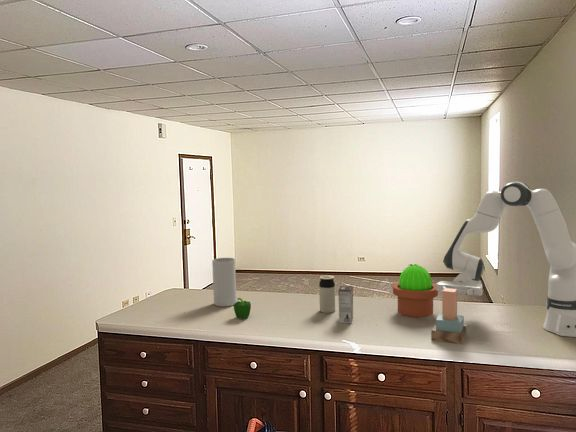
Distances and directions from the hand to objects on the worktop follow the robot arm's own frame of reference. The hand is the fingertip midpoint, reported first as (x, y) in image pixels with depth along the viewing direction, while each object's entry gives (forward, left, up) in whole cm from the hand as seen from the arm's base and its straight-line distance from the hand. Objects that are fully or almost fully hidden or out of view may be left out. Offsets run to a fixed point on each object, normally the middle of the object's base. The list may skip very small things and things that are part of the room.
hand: (455, 292), depth 211 cm
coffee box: (+49, +10, -17) cm, 53 cm away
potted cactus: (+23, -17, -17) cm, 33 cm away
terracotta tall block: (0, +11, -8) cm, 14 cm away
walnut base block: (0, +12, -17) cm, 21 cm away
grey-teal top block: (0, +12, -13) cm, 17 cm away
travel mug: (+64, 0, -17) cm, 66 cm away
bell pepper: (+97, +29, -17) cm, 103 cm away
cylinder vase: (+121, +13, -17) cm, 123 cm away
